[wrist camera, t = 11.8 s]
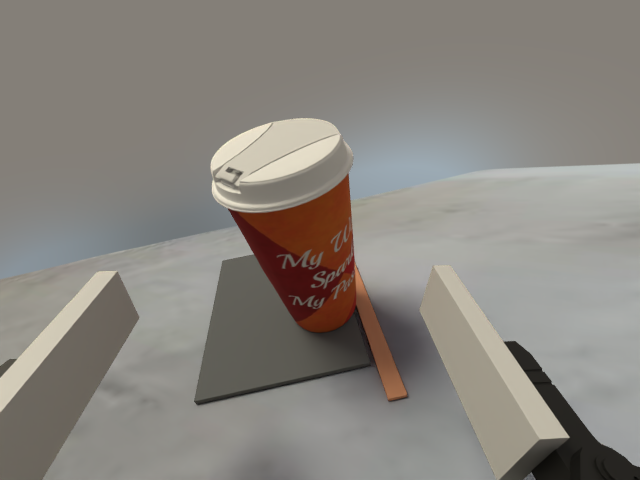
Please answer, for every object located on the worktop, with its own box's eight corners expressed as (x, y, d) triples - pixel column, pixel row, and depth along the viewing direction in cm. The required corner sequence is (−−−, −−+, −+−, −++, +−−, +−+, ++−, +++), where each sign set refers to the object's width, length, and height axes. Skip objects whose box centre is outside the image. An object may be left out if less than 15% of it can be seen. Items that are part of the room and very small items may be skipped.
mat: (330, 242, 32) (330, 239, 32) (370, 365, 20) (370, 362, 20) (223, 263, 31) (222, 260, 31) (196, 404, 19) (194, 401, 19)
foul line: (343, 236, 32) (343, 234, 32) (407, 396, 18) (407, 394, 18) (333, 238, 32) (333, 236, 32) (388, 401, 18) (388, 398, 18)
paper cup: (329, 367, 20) (267, 207, 10) (260, 313, 24) (173, 165, 15) (388, 290, 24) (383, 120, 14) (319, 255, 28) (280, 107, 19)
